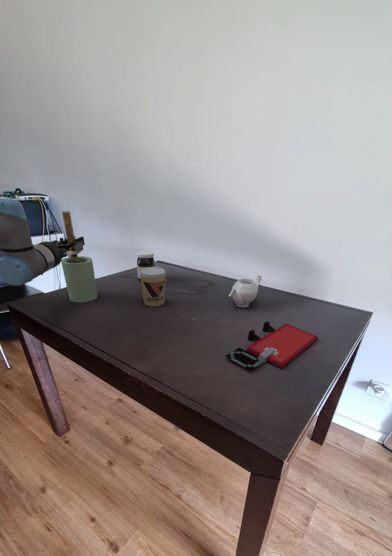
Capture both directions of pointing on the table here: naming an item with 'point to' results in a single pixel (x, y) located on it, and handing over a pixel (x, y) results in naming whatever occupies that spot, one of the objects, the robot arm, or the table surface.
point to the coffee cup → (153, 285)
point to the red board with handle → (273, 346)
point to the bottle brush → (69, 232)
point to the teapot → (245, 291)
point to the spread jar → (145, 261)
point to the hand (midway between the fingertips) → (78, 240)
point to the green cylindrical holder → (80, 279)
